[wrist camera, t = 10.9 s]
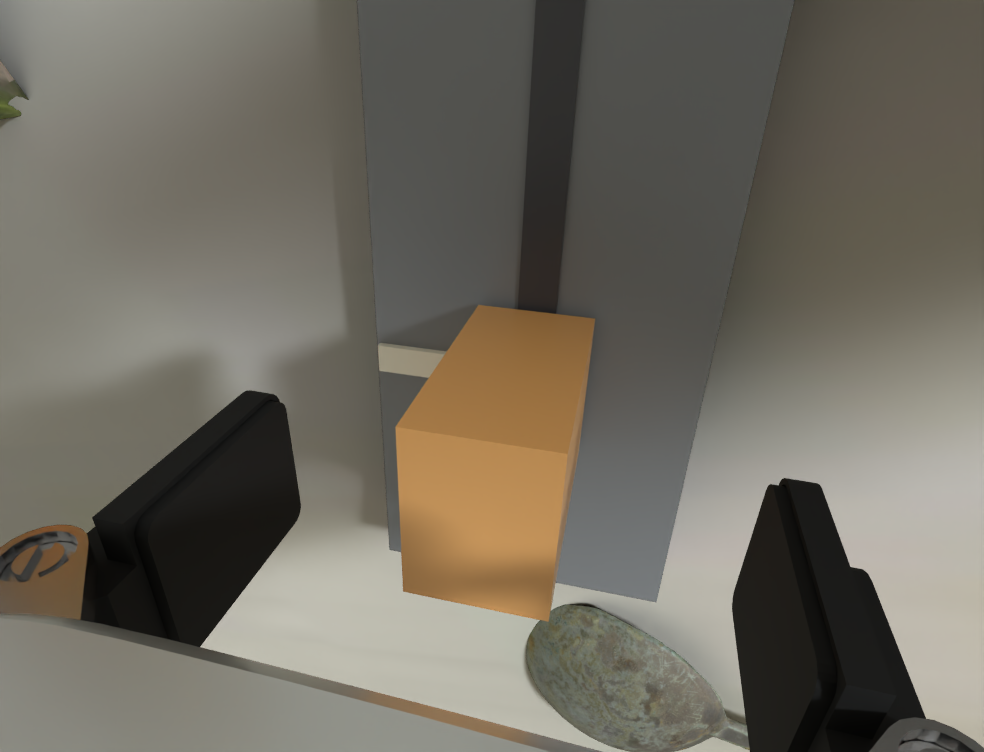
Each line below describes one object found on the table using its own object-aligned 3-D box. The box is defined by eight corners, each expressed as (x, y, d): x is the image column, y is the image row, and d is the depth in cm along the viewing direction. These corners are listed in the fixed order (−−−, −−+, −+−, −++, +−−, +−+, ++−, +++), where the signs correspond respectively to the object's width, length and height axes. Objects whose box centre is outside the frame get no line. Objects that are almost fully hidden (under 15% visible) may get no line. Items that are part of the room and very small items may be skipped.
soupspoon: (552, 555, 24) (512, 651, 27) (534, 627, 21) (492, 724, 24) (1150, 781, 21) (1022, 855, 25) (1222, 897, 18) (1065, 961, 22)
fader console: (374, -400, 12) (322, -487, 10) (875, -449, 10) (926, -564, 8) (409, 512, 23) (387, 554, 21) (655, 557, 21) (656, 607, 19)
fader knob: (478, 304, 16) (395, 426, 11) (595, 318, 15) (567, 454, 10) (475, 434, 18) (403, 591, 12) (578, 450, 17) (548, 621, 12)
